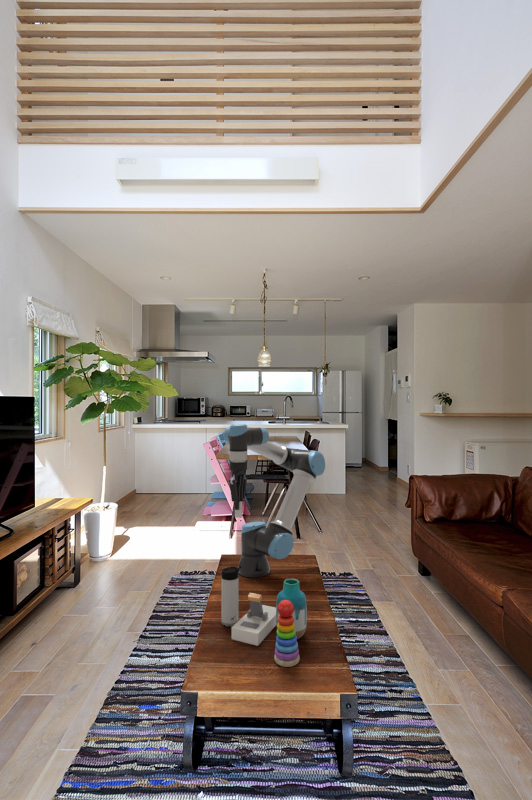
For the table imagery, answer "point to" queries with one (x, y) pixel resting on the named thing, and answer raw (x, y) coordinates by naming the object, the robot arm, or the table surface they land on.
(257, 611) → the lever
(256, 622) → the switch box
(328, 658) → the table surface
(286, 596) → the vase
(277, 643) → the stacking toy
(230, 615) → the travel mug
